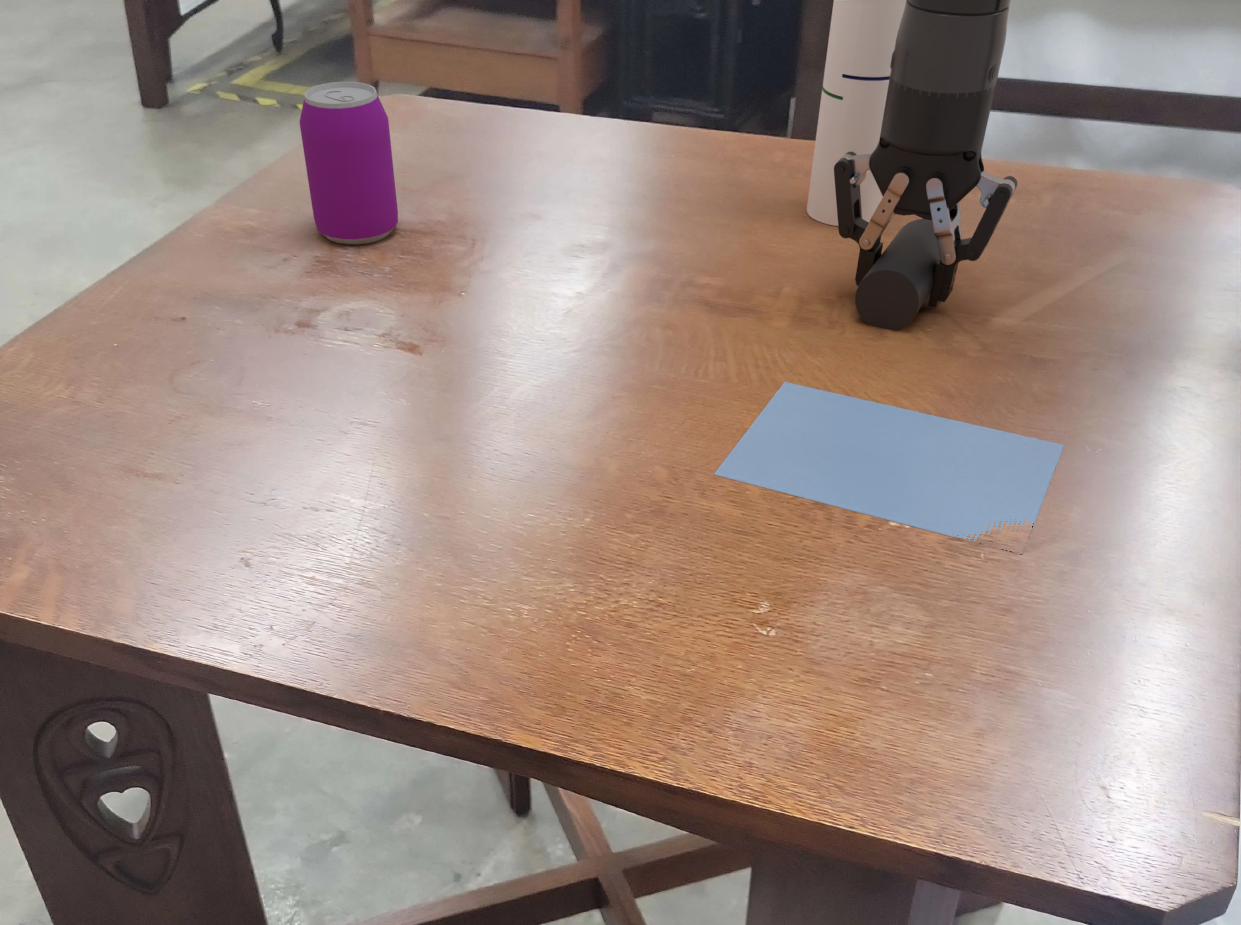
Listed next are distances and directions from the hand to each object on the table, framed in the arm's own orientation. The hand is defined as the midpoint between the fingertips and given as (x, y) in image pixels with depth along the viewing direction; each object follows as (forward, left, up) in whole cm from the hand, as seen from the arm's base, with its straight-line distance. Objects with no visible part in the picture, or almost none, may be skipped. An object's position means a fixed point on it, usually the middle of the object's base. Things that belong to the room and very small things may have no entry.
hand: (900, 296), depth 97 cm
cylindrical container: (+10, -17, -1) cm, 20 cm away
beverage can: (+49, +7, -1) cm, 49 cm away
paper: (-6, +24, -1) cm, 25 cm away
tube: (-1, 0, -1) cm, 1 cm away
